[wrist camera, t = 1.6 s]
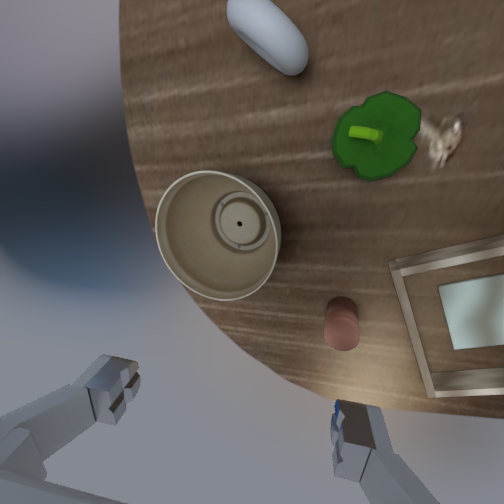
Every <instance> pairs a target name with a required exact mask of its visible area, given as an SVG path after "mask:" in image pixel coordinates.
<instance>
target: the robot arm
mask: <svg viewBox="0 0 504 504" xmlns="http://www.w3.org/2000/svg"><path fill="white" fill-rule="evenodd" d="M138 368H139V366H138V362H136V361H133V360H128V359H124V358H119V357H115V356H110V355H105V354H103V355H101V356H99V357H98V358H97V359H96V360H95V361H94V363H92V364H91V366H89V367H88V368H87V370H86V371H85V372H84V373H83V374H82V375H81V376H80V377H79V378H78V379H77V380H76V381H75V382H74V383H73V384H72V385H70V384H68V385H66V386H64V387H62V388H60V389H58V390H56V391H54V392H51V393H49V394H47V395H45V396H43V397H41V398H39V399H37V400H35V401H33V402H31V403H29V404H27V405H25V406H22V407H21V408H18V409H16V410H14V411H12V412H10V413H8V414H6V415H4V416H2V417H0V504H127V503H123V502H120V501H116V500H112V499H109V498H105V497H101V496H97V495H94V494H91V493H87V492H83V491H80V490H76V489H72V488H69V487H65V486H62V485H58V484H54V483H50V482H47V481H44V480H45V478H46V476H47V471H46V469H45V466H44V464H43V461H44V460H45V459H47V458H48V457H50V456H51V455H52V454H54V453H55V452H56V451H58V450H59V449H60V448H62V447H63V446H65V445H66V444H67V443H69V442H70V441H72V440H73V439H74V438H76V437H77V436H78V435H80V434H81V433H83V432H84V431H85V430H87V429H88V428H89V427H91V426H92V425H93V424H95V422H101V423H106V424H111V425H116V424H117V423H118V421H119V420H120V418H121V417H122V415H123V414H124V412H125V411H126V404H127V403H129V402H130V401H132V400H133V399H134V397H135V396H136V394H137V392H138V389H139V387H140V375H139V374H138V373H137V372H136V371H137V370H138ZM330 430H331V431H330V432H331V443H332V444H333V446H334V451H333V455H332V457H333V467H334V476H336V477H340V478H343V479H347V480H351V481H355V482H359V483H360V486H361V488H362V489H363V491H364V493H365V495H366V496H367V498H368V500H369V502H370V503H371V504H440V503H439V502H438V501H437V500H436V499H435V497H434V496H433V495H432V494H431V493H430V492H429V490H428V489H427V488H426V487H425V486H424V484H423V483H422V482H421V481H420V480H419V478H418V477H417V476H416V475H415V474H414V473H413V471H412V470H411V469H410V468H409V467H408V465H407V464H406V463H405V462H404V461H403V460H402V458H401V457H400V456H399V455H398V454H394V452H393V449H392V446H391V442H390V439H389V436H388V432H387V428H386V425H385V422H384V418H383V415H382V411H381V409H380V408H379V407H376V406H371V405H366V404H362V403H356V402H350V401H345V400H339V399H337V400H336V402H335V413H334V414H332V419H331V428H330Z"/></svg>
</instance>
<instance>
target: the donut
mask: <svg viewBox="0 0 504 504" xmlns="http://www.w3.org/2000/svg"><path fill="white" fill-rule="evenodd" d="M227 17H228V21H229V23H230V25H231V27H232V28H233V29H234V31H235V32H236V33H237V34H238V35H239V36H240V37H241V38H242V39H243V40H244V41H245V42H246V43H247V44H248V45H249V46H250V47H251V48H252V49H253V50H254V51H255V52H256V53H257V54H258V55H260V56H261V57H262V58H263V59H264V60H266V61H267V62H268V63H269V64H271V65H272V66H273V67H274V68H276V69H277V70H279V71H280V72H282V73H284V74H285V75H290V76H294V75H297V74H299V73H301V72H302V71H303V70H304V68H305V67H306V65H307V62H308V57H309V51H308V46H307V43H306V41H305V39H304V37H303V35H302V34H301V32H300V31H299V30H298V28H297V27H296V26H295V25H294V24H293V22H292V21H291V20H290V19H289V18H288V17H287V16H286V15H285V14H284V13H283V12H282V11H281V10H280V9H279V8H278V7H277V6H276V5H275V4H273V3H272V2H271V1H270V0H228V3H227Z"/></svg>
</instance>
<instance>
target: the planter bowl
mask: <svg viewBox="0 0 504 504" xmlns="http://www.w3.org/2000/svg"><path fill="white" fill-rule="evenodd" d="M238 221H240V222H241V223H242V226H239V225H238ZM155 229H156V239H157V243H158V247H159V250H160V253H161V255H162V257H163V259H164V261H165V263H166V265H167V266H168V268H169V269H170V270H171V272H172V273H173V274H174V276H175V277H176V278H177V279H178V280H179V281H180V282H181V283H183V284H184V285H185V286H186V287H188V288H189V289H191V290H192V291H194V292H195V293H198V294H200V295H202V296H204V297H207V298H210V299H215V300H222V301H229V300H237V299H241V298H244V297H246V296H249V295H251V294H252V293H254V292H256V291H257V290H258V289H259V288H260V287H261V286H262V285H263V284H264V283H265V282H266V281H267V279H268V278H269V277H270V275H271V273H272V271H273V269H274V267H275V264H276V261H277V257H278V253H279V249H280V244H281V226H280V221H279V217H278V214H277V211H276V209H275V207H274V205H273V203H272V202H271V200H270V199H269V197H268V196H267V195H266V194H265V193H264V192H263V191H262V190H261V189H260V188H259V187H258V186H257V185H255V184H254V183H252V182H251V181H249V180H247V179H245V178H243V177H240V176H237V175H234V174H230V173H225V172H220V171H212V170H204V171H197V172H192V173H189V174H187V175H185V176H183V177H181V178H179V179H178V180H177V181H175V182H174V183H173V184H172V185H171V186H170V187H169V188H168V189H167V191H166V192H165V193H164V195H163V197H162V199H161V200H160V203H159V206H158V208H157V213H156V221H155Z"/></svg>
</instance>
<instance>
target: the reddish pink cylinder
mask: <svg viewBox="0 0 504 504" xmlns="http://www.w3.org/2000/svg"><path fill="white" fill-rule="evenodd" d="M324 338H325V341H326V342H327V344H328V345H329V346H331V347H332V348H334V349H336V350H340V351H348V350H351V349H353V348H355V347H356V346H357V345H358V343H359V327H358V315H357V307H356V305H355V303H354V302H353V301H352V300H351V299H349V298H346V297H335V298H333V299H332V300H330V301H329V303H328V305H327V312H326V321H325V330H324Z"/></svg>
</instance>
